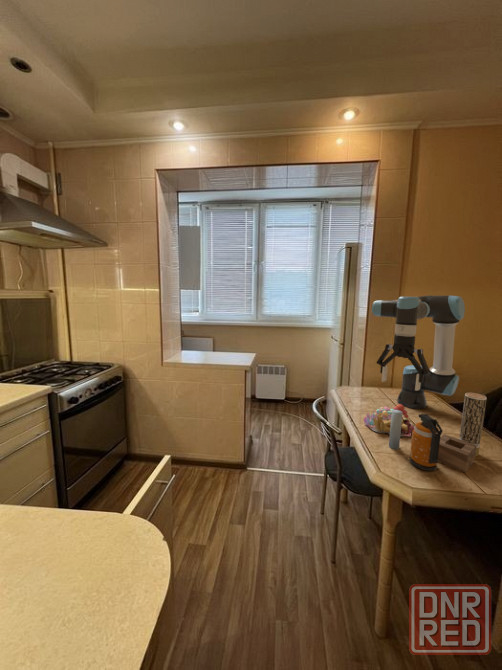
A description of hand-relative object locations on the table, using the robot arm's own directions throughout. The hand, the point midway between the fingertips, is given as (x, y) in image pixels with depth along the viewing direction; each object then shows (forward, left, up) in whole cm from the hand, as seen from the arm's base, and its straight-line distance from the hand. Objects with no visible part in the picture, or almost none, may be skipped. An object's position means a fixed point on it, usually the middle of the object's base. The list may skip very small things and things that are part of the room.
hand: (399, 385), depth 117 cm
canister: (+5, +14, -28) cm, 31 cm away
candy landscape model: (-18, -11, -28) cm, 35 cm away
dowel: (0, 0, -28) cm, 28 cm away
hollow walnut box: (-9, +19, -28) cm, 35 cm away
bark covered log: (-20, +21, -28) cm, 40 cm away
